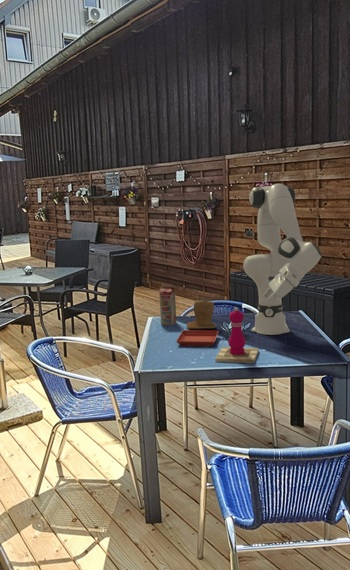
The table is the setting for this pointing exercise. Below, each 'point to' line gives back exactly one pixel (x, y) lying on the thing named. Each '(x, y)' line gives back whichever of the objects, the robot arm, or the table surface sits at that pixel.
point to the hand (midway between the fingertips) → (265, 299)
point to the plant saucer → (197, 338)
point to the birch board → (247, 357)
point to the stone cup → (202, 315)
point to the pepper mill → (236, 333)
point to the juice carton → (167, 304)
